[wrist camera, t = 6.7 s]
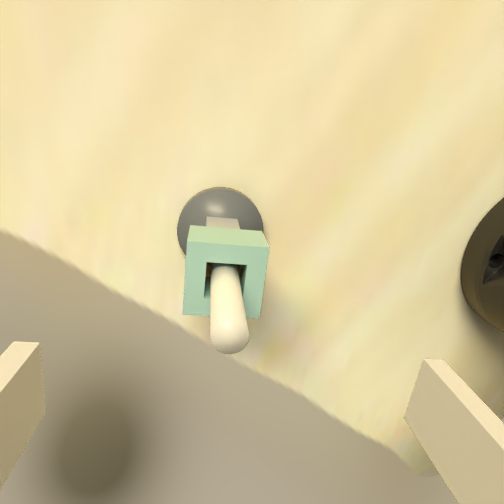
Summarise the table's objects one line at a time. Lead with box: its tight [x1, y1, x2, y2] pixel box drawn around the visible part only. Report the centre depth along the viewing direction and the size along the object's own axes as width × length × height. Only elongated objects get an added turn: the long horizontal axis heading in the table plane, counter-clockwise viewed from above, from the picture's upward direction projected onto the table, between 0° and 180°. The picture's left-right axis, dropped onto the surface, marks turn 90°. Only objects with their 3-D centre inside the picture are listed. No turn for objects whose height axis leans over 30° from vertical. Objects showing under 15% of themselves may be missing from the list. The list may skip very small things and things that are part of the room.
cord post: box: [177, 187, 263, 354], centre depth 22 cm, size 7×7×16 cm
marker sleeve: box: [183, 225, 270, 318], centre depth 21 cm, size 4×4×3 cm
